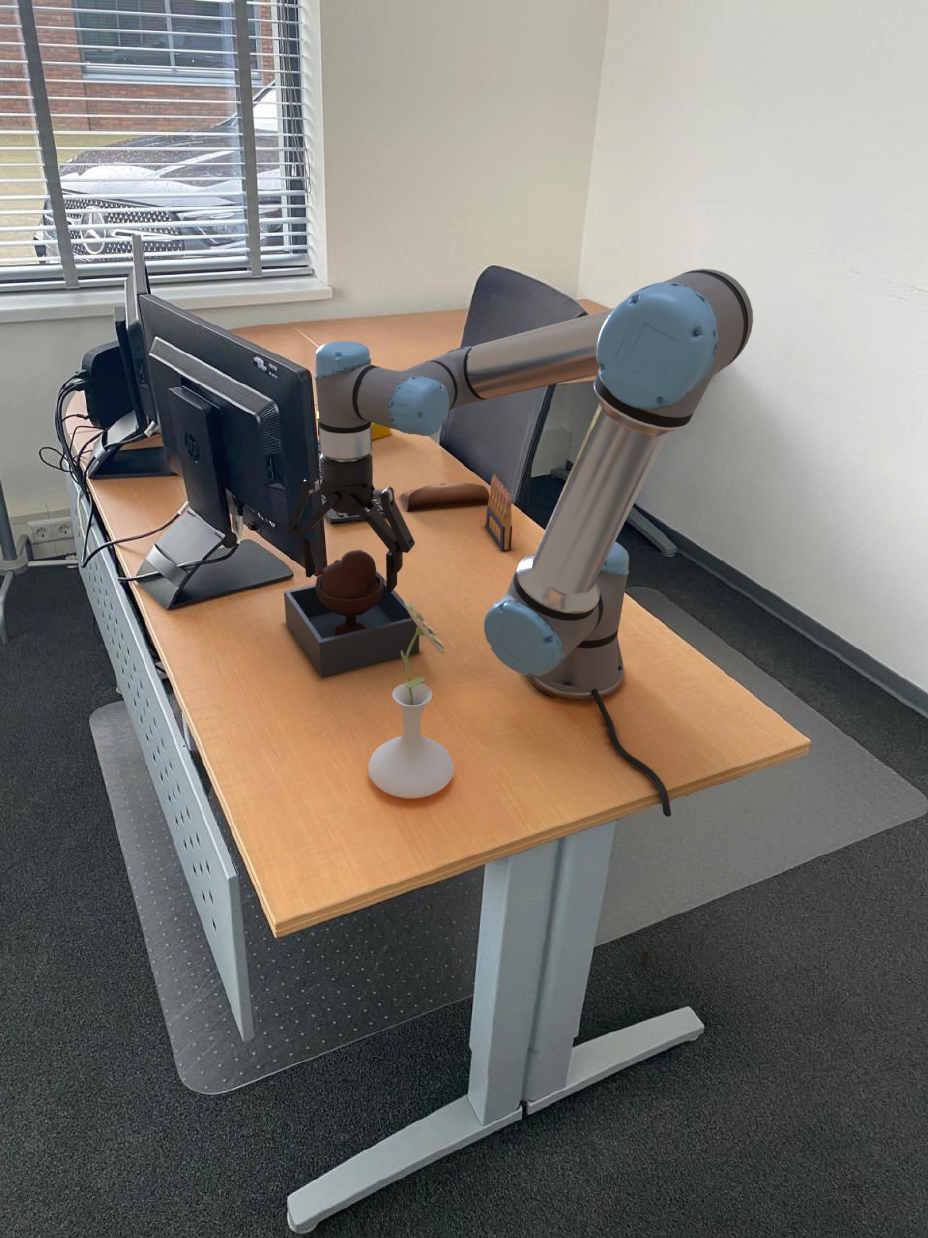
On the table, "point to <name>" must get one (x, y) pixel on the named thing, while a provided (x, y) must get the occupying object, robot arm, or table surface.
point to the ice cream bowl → (350, 588)
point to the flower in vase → (412, 737)
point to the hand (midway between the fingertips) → (351, 580)
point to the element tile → (373, 430)
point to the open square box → (355, 649)
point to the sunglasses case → (444, 495)
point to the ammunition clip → (499, 515)
